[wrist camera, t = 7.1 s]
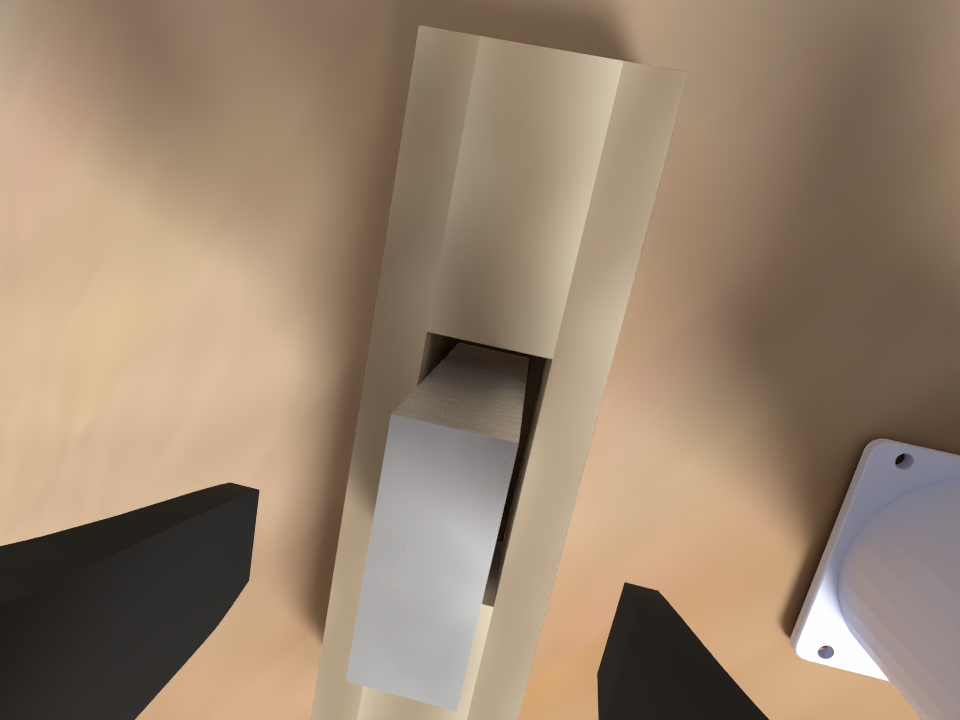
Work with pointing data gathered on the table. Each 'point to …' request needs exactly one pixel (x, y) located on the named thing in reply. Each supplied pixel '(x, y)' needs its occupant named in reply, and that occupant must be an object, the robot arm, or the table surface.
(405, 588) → the rectangular metal block
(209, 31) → the table surface
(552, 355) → the post beam
